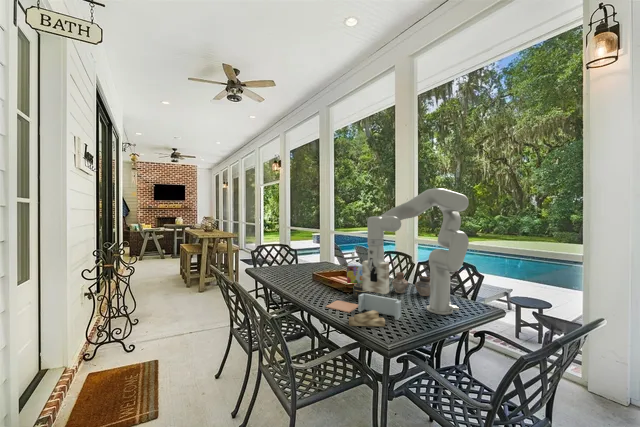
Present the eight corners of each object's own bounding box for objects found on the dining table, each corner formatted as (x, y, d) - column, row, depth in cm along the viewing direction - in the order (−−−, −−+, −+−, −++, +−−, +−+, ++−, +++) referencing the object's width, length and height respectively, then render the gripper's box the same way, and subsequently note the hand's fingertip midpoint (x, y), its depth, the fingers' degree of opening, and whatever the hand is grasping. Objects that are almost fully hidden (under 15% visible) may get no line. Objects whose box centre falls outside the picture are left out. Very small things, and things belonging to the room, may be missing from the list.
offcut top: (373, 315, 142) (374, 310, 142) (378, 317, 140) (378, 312, 139) (354, 320, 136) (354, 315, 136) (358, 323, 133) (358, 317, 133)
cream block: (389, 291, 144) (389, 262, 143) (386, 294, 140) (386, 264, 140) (366, 288, 150) (365, 260, 150) (362, 290, 147) (362, 261, 146)
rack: (401, 316, 147) (401, 300, 147) (397, 320, 143) (397, 303, 143) (362, 308, 159) (363, 293, 158) (358, 311, 154) (358, 295, 154)
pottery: (392, 288, 195) (393, 270, 194) (434, 293, 186) (434, 274, 186) (390, 293, 184) (390, 274, 184) (434, 298, 175) (434, 278, 175)
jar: (349, 298, 176) (349, 285, 175) (360, 294, 183) (360, 281, 182) (363, 302, 168) (363, 288, 168) (374, 298, 175) (374, 285, 175)
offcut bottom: (383, 324, 140) (383, 317, 139) (385, 327, 136) (385, 321, 135) (348, 323, 140) (348, 317, 140) (349, 326, 136) (349, 320, 136)
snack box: (379, 287, 197) (379, 264, 197) (380, 290, 192) (380, 266, 191) (346, 286, 200) (347, 263, 199) (346, 288, 194) (346, 265, 193)
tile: (359, 306, 162) (359, 304, 162) (349, 312, 152) (349, 311, 152) (337, 301, 170) (337, 300, 169) (325, 307, 159) (325, 306, 159)
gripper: (376, 245, 135) (376, 285, 136) (389, 240, 149) (389, 277, 150) (360, 244, 139) (361, 283, 140) (375, 239, 153) (375, 275, 154)
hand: (375, 280), depth 145 cm, fingers closed on cream block, 4 cm apart
